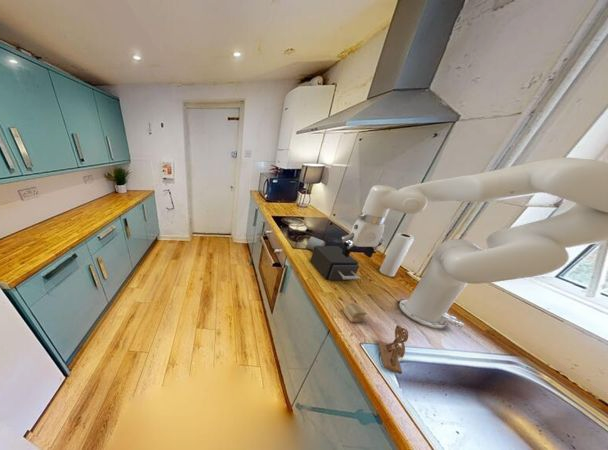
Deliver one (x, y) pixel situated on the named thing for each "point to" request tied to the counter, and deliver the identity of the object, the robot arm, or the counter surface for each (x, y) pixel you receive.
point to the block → (354, 312)
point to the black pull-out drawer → (343, 272)
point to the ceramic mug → (314, 243)
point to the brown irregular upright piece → (394, 350)
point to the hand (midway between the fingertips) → (355, 255)
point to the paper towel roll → (396, 254)
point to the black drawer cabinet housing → (329, 258)
